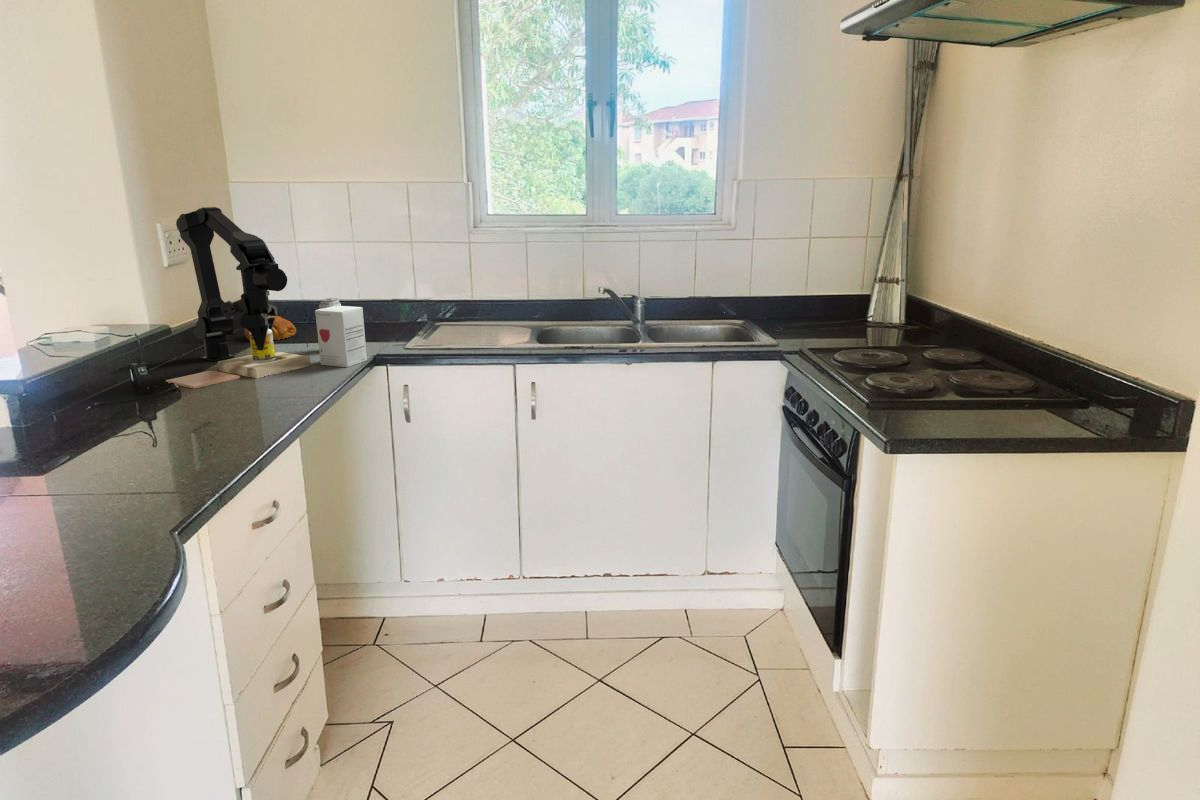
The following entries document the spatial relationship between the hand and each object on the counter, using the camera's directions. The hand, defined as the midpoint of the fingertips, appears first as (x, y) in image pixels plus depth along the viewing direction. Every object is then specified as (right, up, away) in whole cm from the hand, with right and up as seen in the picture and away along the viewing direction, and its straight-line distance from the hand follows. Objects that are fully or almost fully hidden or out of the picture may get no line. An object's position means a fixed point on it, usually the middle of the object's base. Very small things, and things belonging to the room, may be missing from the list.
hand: (262, 348), depth 201 cm
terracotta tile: (-10, -9, -11) cm, 17 cm away
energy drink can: (+11, +1, +23) cm, 26 cm away
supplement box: (+19, -4, +7) cm, 21 cm away
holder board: (0, -5, +1) cm, 6 cm away
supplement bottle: (0, -4, +1) cm, 4 cm away
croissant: (-16, +6, +44) cm, 47 cm away
